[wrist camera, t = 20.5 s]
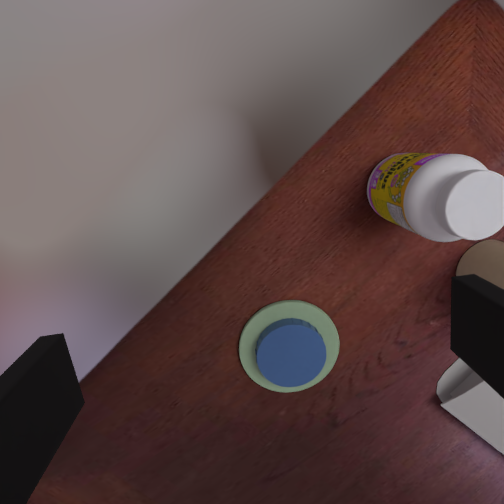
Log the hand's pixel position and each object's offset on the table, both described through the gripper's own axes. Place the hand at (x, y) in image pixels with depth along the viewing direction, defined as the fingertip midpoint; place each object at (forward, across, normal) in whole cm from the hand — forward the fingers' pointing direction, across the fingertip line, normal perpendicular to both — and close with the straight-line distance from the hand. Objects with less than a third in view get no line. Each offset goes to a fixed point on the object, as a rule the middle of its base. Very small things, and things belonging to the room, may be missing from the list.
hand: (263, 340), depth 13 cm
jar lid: (+23, +3, -15) cm, 28 cm away
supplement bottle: (+25, +15, 0) cm, 30 cm away
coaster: (+25, +3, -15) cm, 29 cm away
